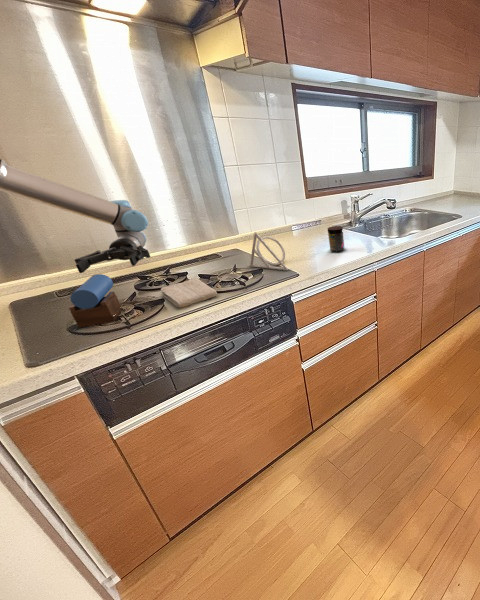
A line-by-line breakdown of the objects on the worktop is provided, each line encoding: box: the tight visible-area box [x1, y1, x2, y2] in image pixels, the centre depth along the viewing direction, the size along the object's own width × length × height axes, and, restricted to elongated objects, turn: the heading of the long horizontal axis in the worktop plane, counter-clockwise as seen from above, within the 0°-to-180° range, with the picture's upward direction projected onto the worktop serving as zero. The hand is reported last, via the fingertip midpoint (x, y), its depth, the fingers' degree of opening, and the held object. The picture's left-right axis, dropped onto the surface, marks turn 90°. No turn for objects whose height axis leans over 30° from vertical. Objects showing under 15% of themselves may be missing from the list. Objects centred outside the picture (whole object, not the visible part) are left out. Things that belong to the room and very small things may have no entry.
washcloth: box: [160, 278, 219, 308], centre depth 106 cm, size 12×18×3 cm, turn 51°
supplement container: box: [327, 225, 346, 254], centre depth 146 cm, size 7×7×10 cm
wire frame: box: [249, 232, 289, 271], centre depth 131 cm, size 18×13×16 cm
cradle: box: [68, 290, 123, 329], centre depth 93 cm, size 8×8×6 cm
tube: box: [69, 273, 114, 309], centre depth 93 cm, size 13×6×6 cm, turn 24°
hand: (106, 265), depth 103 cm, fingers open, 13 cm apart
